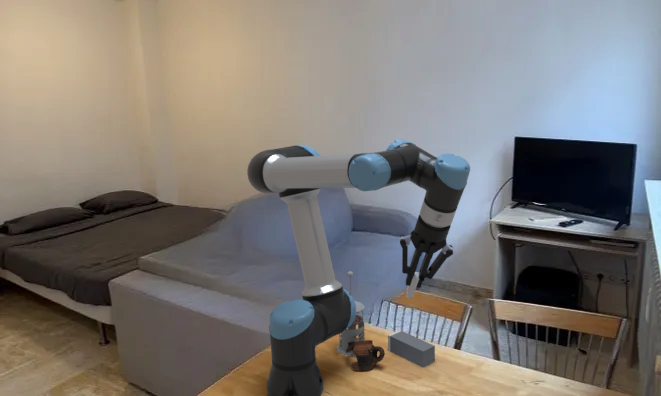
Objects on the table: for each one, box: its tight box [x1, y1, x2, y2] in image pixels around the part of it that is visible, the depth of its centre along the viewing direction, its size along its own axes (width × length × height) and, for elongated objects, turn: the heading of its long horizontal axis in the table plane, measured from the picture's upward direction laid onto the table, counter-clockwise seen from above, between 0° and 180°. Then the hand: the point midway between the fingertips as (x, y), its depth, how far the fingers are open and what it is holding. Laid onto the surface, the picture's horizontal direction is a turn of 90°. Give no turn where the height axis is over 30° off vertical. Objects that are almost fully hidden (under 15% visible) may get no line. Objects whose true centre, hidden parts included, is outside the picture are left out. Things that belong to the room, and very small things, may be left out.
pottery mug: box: [346, 339, 386, 372], centre depth 155 cm, size 12×10×8 cm
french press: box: [336, 271, 366, 357], centre depth 162 cm, size 10×12×25 cm
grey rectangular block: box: [387, 329, 436, 368], centre depth 158 cm, size 5×5×14 cm
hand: (409, 294), depth 134 cm, fingers closed
